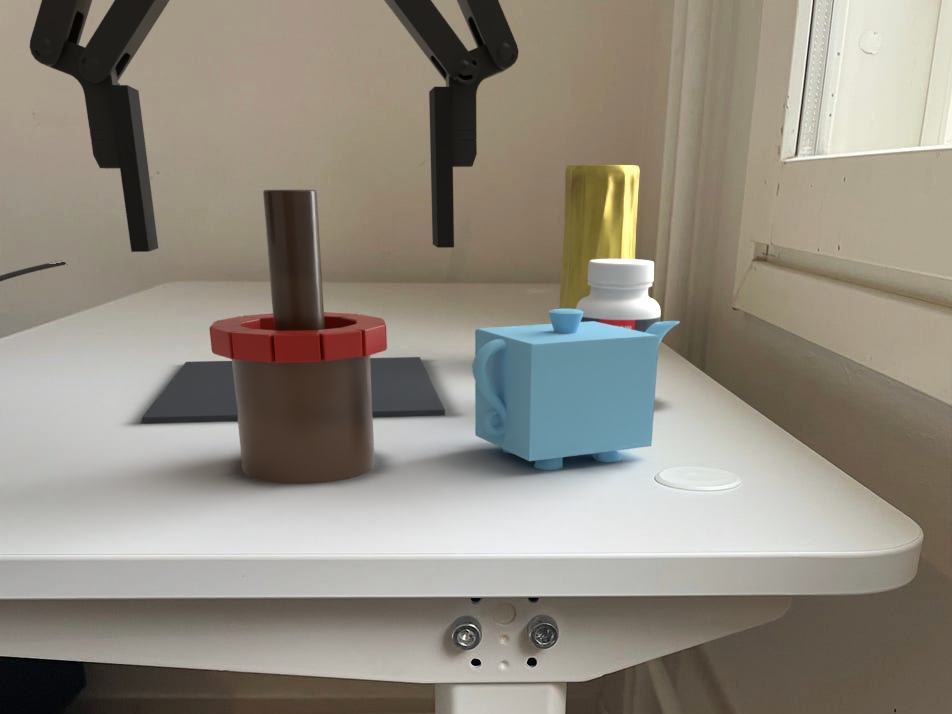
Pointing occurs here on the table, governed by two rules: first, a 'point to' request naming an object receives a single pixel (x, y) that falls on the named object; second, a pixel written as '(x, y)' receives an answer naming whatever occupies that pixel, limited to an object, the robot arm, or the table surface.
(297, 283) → the ring holder
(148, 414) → the mat
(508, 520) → the table surface
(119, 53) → the robot arm
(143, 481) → the table surface
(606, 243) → the vase
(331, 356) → the ring
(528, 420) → the teapot
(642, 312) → the pill bottle
